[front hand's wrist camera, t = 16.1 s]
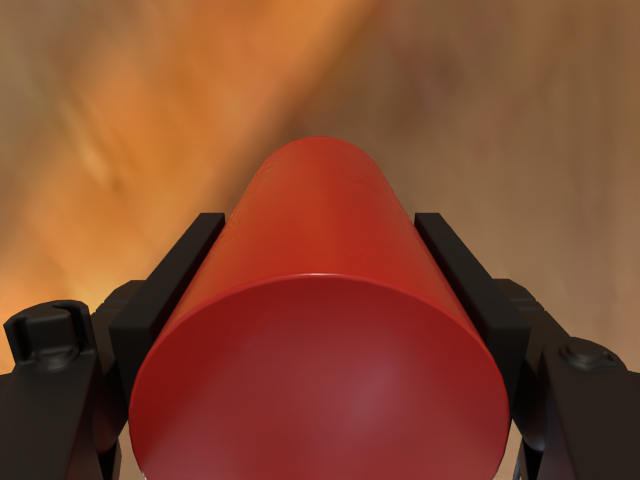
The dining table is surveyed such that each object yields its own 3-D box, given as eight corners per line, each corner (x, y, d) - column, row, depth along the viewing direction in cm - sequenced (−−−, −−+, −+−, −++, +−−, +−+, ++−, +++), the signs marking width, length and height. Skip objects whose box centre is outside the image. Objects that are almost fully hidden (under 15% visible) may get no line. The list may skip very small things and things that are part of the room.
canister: (359, 288, 20) (415, 595, 8) (232, 248, 19) (98, 523, 8) (413, 165, 18) (588, 347, 6) (272, 114, 17) (172, 213, 5)
